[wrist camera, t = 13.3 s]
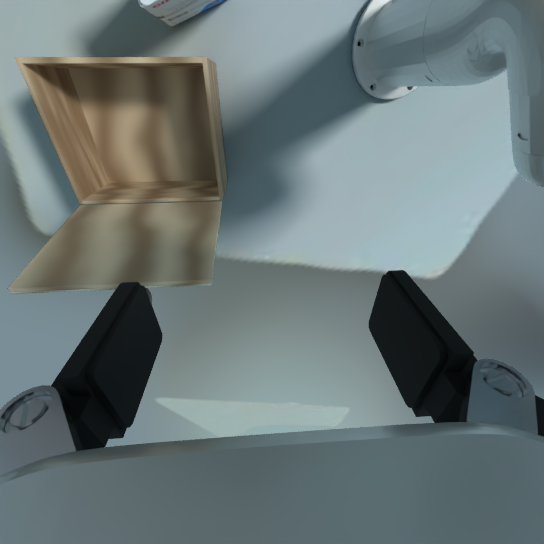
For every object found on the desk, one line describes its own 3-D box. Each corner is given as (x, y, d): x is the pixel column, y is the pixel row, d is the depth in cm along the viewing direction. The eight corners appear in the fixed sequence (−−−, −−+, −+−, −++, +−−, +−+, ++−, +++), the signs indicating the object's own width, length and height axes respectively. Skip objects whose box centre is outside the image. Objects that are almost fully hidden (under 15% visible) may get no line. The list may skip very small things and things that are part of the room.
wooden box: (215, 63, 36) (206, 57, 28) (227, 182, 45) (223, 200, 38) (64, 63, 35) (14, 57, 28) (108, 184, 44) (79, 204, 37)
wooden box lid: (210, 281, 26) (219, 320, 31) (221, 201, 37) (226, 238, 42) (5, 290, 25) (46, 328, 30) (80, 205, 36) (101, 242, 41)
